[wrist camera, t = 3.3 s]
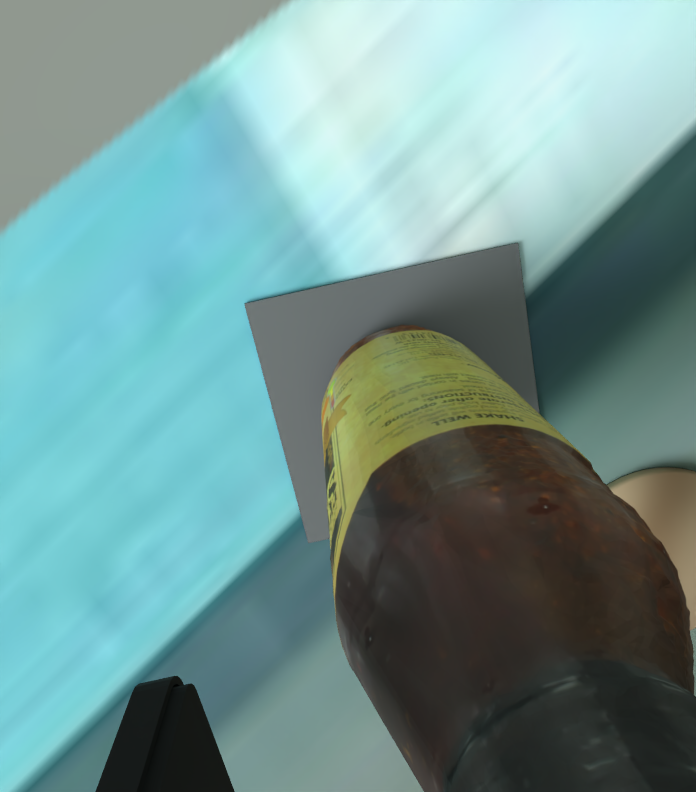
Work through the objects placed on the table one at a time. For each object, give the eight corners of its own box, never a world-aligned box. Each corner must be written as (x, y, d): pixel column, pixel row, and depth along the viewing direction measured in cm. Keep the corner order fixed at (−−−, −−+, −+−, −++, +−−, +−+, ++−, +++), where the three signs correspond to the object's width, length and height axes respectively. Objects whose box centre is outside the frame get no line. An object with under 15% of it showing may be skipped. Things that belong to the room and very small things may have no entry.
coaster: (742, 448, 24) (752, 454, 23) (745, 611, 26) (754, 620, 26) (547, 490, 24) (553, 496, 24) (567, 648, 27) (573, 658, 26)
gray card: (516, 242, 21) (518, 242, 21) (547, 490, 24) (549, 492, 24) (244, 303, 21) (244, 304, 21) (308, 541, 24) (308, 543, 24)
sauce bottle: (288, 385, 22) (89, 1375, 3) (426, 284, 21) (1247, 848, 2) (388, 509, 24) (638, 1637, 5) (519, 421, 23) (1433, 1387, 4)
